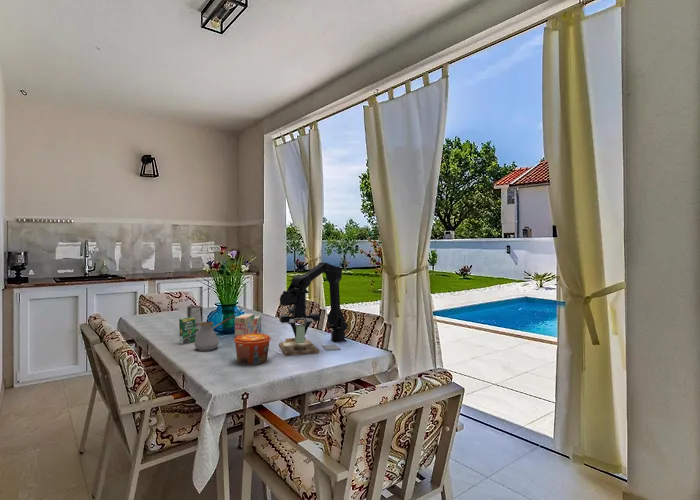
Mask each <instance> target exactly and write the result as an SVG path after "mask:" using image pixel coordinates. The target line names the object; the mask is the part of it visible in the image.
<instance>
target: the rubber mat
mask: <svg viewBox="0 0 700 500" xmlns="http://www.w3.org/2000/svg"><path fill="white" fill-rule="evenodd" d="M321 347H322V348H323V350H325V351H326V352H331V350H332V351H341V348H340V346H338V345H337V344H335V343H334V344H333V343H331V344H322V345H321Z"/></svg>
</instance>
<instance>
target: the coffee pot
mask: <svg viewBox="0 0 700 500" xmlns="http://www.w3.org/2000/svg"><path fill="white" fill-rule="evenodd" d="M236 317H237V316H236V315H232V316H230V317H228V318H226V319H224V320H222V321H221V322H219V323H218V324H215V325H214V322H213V321H202V323H200V325H201V329H200V331H199V334H198V336H197V337H196V341H195V342H193V343H194V348H196V349H197V350H198V351H200V352H208V351H213V350H215V349H216V348H217V347H218V345H219V344H220V342H219V339H218V337H217V335H216V332H215V331H214V329H215V328H217V327H218V326H222V325H223V324H225V323H227V322H228V321H230V320H231V319H233V318H234V320H235V319H236Z"/></svg>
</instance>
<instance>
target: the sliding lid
mask: <svg viewBox="0 0 700 500" xmlns="http://www.w3.org/2000/svg"><path fill="white" fill-rule="evenodd" d="M306 338H307V337H306V336H305V343H298V344H296V342H295V337H287V338H285V341H281V342H280V343H281V344H282V345H283V347H284V348H286V347H299V346H312V343H313V342H312V341H311V340H309V339H306ZM310 341H311V342H312V343H311V342H310Z"/></svg>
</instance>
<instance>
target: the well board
mask: <svg viewBox="0 0 700 500" xmlns="http://www.w3.org/2000/svg"><path fill="white" fill-rule="evenodd" d="M309 341H310V342H311V343H312V346H299V347H286V348H284V347H283V345H282V344H281V342H278V347H279V348H280V350H281V352H282V353H283V355H284V357H289V356H299V355H301V356H302V355H313V354H314V355H315V354H320V352H319V351H320V350H319V348H318V347H317V346H316V345H314V343H313V342H312V341H311V340H309Z"/></svg>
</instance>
